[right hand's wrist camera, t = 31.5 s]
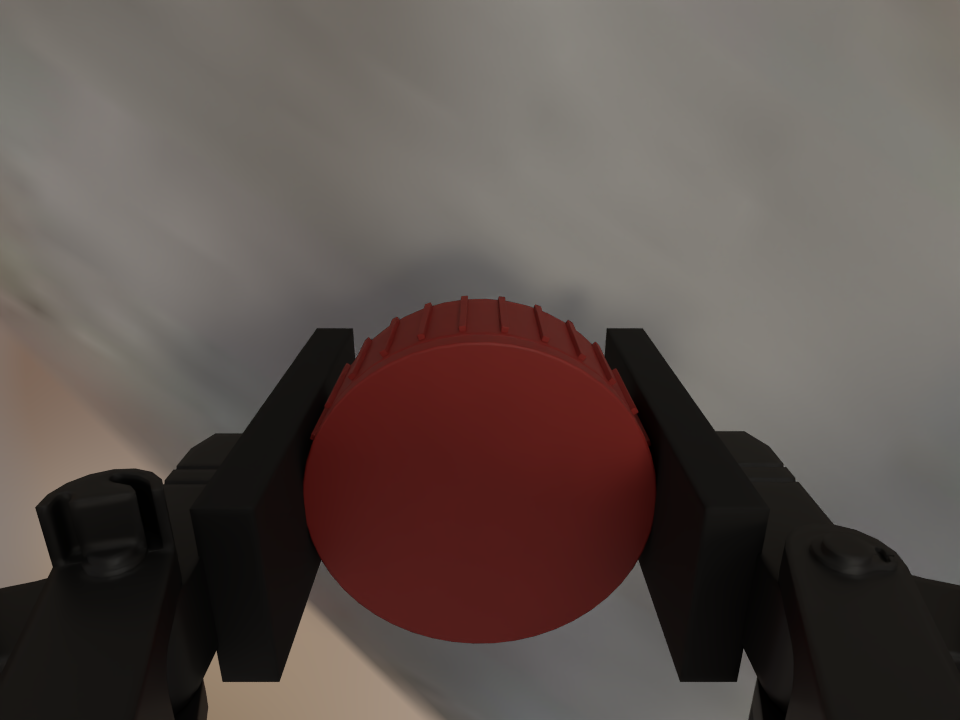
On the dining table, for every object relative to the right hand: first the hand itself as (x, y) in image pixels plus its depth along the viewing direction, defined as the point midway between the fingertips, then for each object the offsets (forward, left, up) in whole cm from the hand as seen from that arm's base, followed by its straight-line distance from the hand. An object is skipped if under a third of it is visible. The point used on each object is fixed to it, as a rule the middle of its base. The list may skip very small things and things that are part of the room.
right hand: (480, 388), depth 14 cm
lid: (0, 0, +4) cm, 4 cm away
